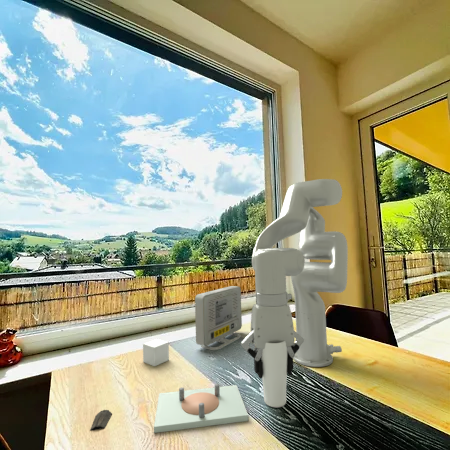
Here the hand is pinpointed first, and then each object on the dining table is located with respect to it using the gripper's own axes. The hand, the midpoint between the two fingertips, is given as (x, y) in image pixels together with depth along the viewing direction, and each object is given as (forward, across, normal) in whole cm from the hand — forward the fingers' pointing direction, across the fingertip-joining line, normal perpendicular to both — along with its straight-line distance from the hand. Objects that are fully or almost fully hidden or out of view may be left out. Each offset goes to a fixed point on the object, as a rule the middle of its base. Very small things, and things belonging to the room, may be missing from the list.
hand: (274, 373), depth 67 cm
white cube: (+7, +31, -31) cm, 44 cm away
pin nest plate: (+7, +18, -1) cm, 19 cm away
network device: (+7, +7, -45) cm, 46 cm away
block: (+8, +40, -1) cm, 41 cm away
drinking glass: (+7, 0, 0) cm, 7 cm away
